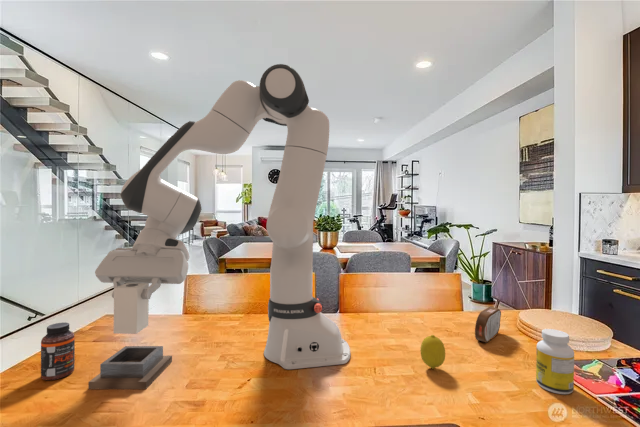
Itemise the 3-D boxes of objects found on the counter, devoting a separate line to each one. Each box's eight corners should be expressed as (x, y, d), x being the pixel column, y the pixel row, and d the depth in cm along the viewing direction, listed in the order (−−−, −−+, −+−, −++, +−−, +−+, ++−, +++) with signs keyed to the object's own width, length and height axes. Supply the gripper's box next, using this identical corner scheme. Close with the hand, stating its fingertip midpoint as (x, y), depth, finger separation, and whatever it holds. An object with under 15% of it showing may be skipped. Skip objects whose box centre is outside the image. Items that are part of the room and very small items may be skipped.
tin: (491, 329, 101) (491, 303, 101) (502, 332, 98) (502, 305, 98) (473, 344, 90) (473, 314, 90) (485, 347, 88) (485, 316, 88)
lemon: (429, 376, 73) (429, 340, 73) (415, 364, 78) (416, 331, 78) (450, 372, 74) (450, 338, 74) (435, 361, 79) (435, 329, 79)
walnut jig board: (172, 361, 79) (172, 355, 79) (146, 388, 67) (146, 381, 67) (123, 361, 79) (122, 355, 79) (88, 389, 67) (88, 382, 67)
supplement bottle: (55, 383, 70) (55, 331, 69) (33, 380, 71) (33, 329, 71) (81, 369, 75) (80, 321, 75) (60, 367, 77) (60, 319, 76)
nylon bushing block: (148, 325, 76) (148, 282, 76) (136, 333, 71) (137, 288, 71) (126, 325, 76) (127, 282, 75) (113, 333, 71) (114, 287, 70)
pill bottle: (537, 375, 73) (538, 324, 73) (574, 386, 69) (574, 331, 69) (534, 388, 68) (535, 333, 68) (573, 400, 64) (574, 341, 64)
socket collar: (163, 358, 78) (162, 346, 78) (142, 378, 69) (142, 364, 69) (125, 358, 78) (125, 346, 78) (100, 378, 69) (100, 364, 69)
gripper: (106, 240, 80) (76, 289, 70) (189, 241, 80) (171, 291, 70) (117, 255, 84) (90, 303, 75) (195, 257, 84) (179, 305, 75)
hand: (130, 297), depth 72 cm, fingers closed on nylon bushing block, 5 cm apart
